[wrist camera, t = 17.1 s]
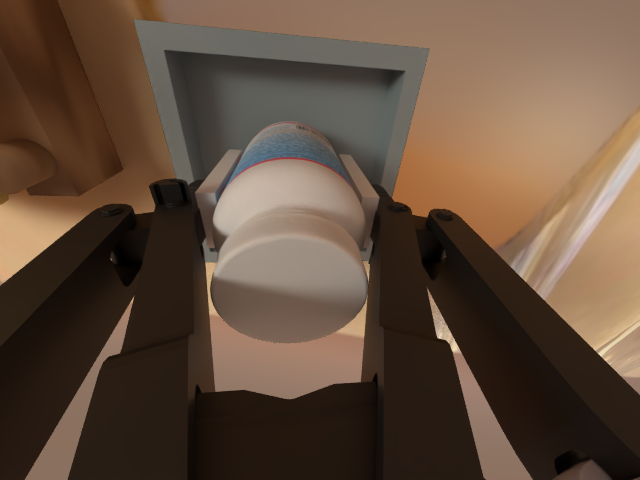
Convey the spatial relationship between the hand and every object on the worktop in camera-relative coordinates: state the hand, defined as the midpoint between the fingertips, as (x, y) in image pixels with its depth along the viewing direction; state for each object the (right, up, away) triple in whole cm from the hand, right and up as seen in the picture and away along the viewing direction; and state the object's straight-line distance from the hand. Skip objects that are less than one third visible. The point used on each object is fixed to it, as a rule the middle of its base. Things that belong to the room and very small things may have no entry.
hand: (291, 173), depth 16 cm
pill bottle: (0, 0, 0) cm, 1 cm away
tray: (0, +1, +2) cm, 2 cm away
